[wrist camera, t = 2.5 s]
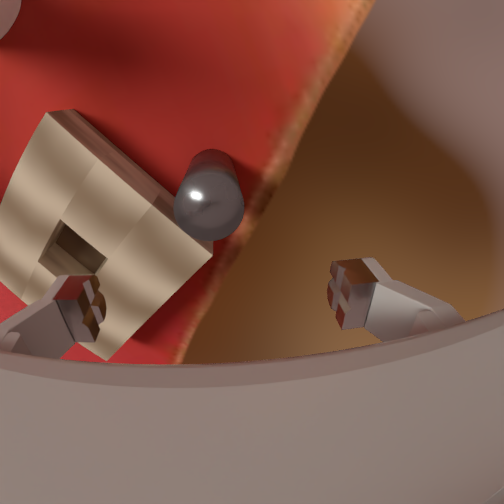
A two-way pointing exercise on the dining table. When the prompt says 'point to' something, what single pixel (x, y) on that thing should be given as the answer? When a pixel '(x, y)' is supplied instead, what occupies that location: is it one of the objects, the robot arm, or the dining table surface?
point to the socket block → (93, 227)
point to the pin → (209, 197)
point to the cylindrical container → (8, 14)
